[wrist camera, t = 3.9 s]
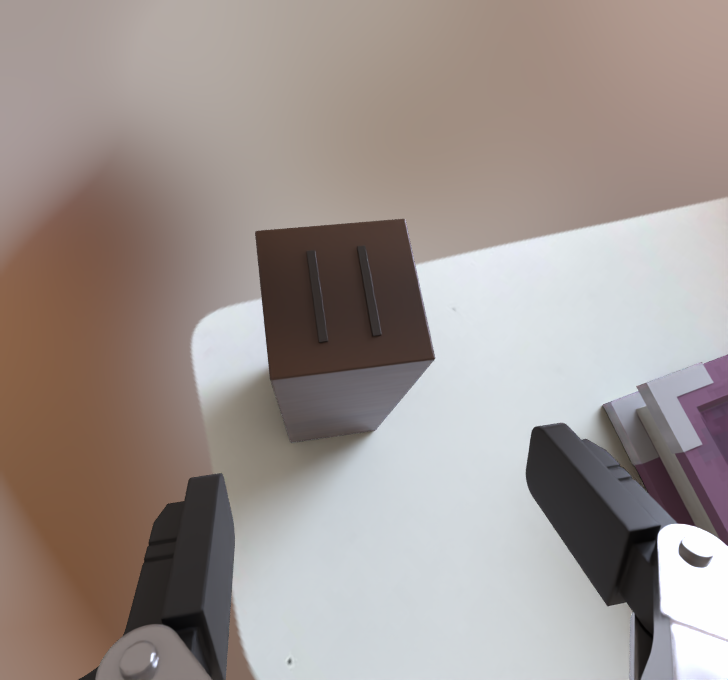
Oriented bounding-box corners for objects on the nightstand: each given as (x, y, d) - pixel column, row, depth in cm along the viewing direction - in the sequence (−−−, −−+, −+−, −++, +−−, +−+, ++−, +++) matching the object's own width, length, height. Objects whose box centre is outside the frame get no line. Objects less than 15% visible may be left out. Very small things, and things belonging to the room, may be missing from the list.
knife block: (375, 430, 31) (436, 358, 16) (290, 443, 30) (270, 379, 15) (362, 350, 33) (406, 216, 18) (281, 360, 32) (254, 228, 17)
